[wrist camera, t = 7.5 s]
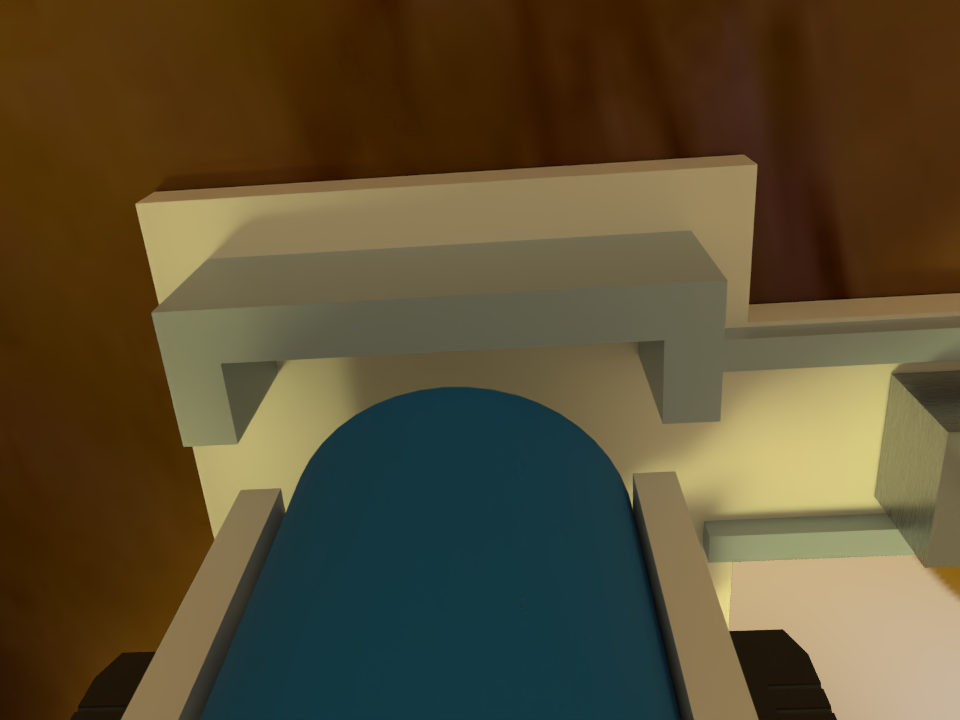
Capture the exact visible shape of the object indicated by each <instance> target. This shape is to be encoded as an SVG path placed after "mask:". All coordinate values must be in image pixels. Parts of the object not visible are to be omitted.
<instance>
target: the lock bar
mask: <svg viewBox="0 0 960 720" xmlns="http://www.w3.org/2000/svg"><path fill="white" fill-rule="evenodd" d="M874 497H875V498H876V499H877V501H878V502H879V504H880V505H881V506H882V508H883V509H884V511H885V512H886V514H887V515H888V516H889V518H890V519H891V521H892V522H893V523H894V525H895V526H896V528H897V529H898V531H899V532H900V533H901V535H902V536H903V538H904V539H905V540H906V542H907V543H908V545H909V546H910V547H911V549H912V550H913V552H914V553H915V555H916V556H917V557H918V559H919V560H920V562H921V563H922V564H923V566H924V567H925V568H927V567H953V566H960V370H959V371H939V372H919V373H899V374H891V381H890V388H889V395H888V402H887V410H886V417H885V424H884V431H883V438H882V445H881V453H880V460H879V467H878V474H877V481H876V489H875V496H874Z"/></svg>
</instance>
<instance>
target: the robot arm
mask: <svg viewBox="0 0 960 720" xmlns="http://www.w3.org/2000/svg"><path fill="white" fill-rule="evenodd" d="M285 513H286V512H285V507H284V502H283V496H282V491H281V488H274V489H250V490H240V492H239V494H238V496H237V498H236V500H235V501H234V503H233V505H232V507H231V509H230V511H229V513H228V515H227V517H226V519H225V521H224V523H223V525H222V526H221V528H220V530H219V532H218V534H217V536H216V538H215V540H214V542H213V544H212V546H211V548H210V549H209V551H208V553H207V555H206V557H205V559H204V561H203V563H202V565H201V567H200V569H199V571H198V573H197V574H196V576H195V578H194V580H193V582H192V584H191V586H190V588H189V590H188V592H187V594H186V596H185V597H184V599H183V601H182V603H181V605H180V607H179V609H178V611H177V613H176V615H175V617H174V619H173V621H172V622H171V624H170V626H169V628H168V630H167V632H166V634H165V636H164V638H163V640H162V642H161V644H160V645H159V647H158V649H157V651H156V652H135V653H122V654H121V655H120V656H119V657H117V658H116V659H115V660H114V661H113V662H112V663H111V664H110V665H109V666H108V667H107V668H105V669H104V670H103V671H102V672H101V673H100V674H99V675H98V676H97V677H96V678H95V679H94V681H93V682H92V684H91V686H90V687H89V689H88V691H87V692H86V694H85V696H84V698H83V699H82V701H81V703H80V704H79V706H78V712H75V713H74V715H73V716H72V718H71V720H199V719H200V717H201V715H202V712H203V710H204V707H205V705H206V703H207V700H208V698H209V695H210V693H211V691H212V688H213V686H214V683H215V681H216V679H217V676H218V674H219V671H220V669H221V667H222V664H223V662H224V659H225V657H226V655H227V652H228V650H229V647H230V645H231V642H232V640H233V638H234V635H235V633H236V630H237V628H238V626H239V623H240V621H241V618H242V616H243V614H244V611H245V609H246V606H247V604H248V602H249V599H250V597H251V594H252V592H253V590H254V587H255V585H256V582H257V580H258V578H259V575H260V573H261V570H262V568H263V566H264V563H265V561H266V558H267V556H268V554H269V551H270V549H271V546H272V544H273V541H274V539H275V537H276V534H277V532H278V529H279V527H280V525H281V522H282V520H283V517H284V515H285ZM633 513H634V517H635V521H636V526H637V530H638V534H639V539H640V543H641V547H642V552H643V556H644V560H645V564H646V569H647V573H648V577H649V582H650V586H651V590H652V595H653V599H654V603H655V608H656V612H657V616H658V621H659V625H660V629H661V634H662V638H663V642H664V646H665V651H666V655H667V659H668V664H669V668H670V672H671V677H672V681H673V685H674V690H675V694H676V698H677V703H678V707H679V711H680V716H681V720H837V719H836V717H835V715H834V713H832V711H831V706H830V703H829V701H828V698H827V696H826V694H825V692H824V690H823V689H822V688H821V683H820V680H819V678H818V676H817V673H816V672H815V669H814V667H813V665H812V662H811V660H810V658H809V655H808V654H807V653H806V652H805V651H804V650H803V649H802V648H801V647H800V646H799V645H798V644H797V643H796V642H795V641H794V640H793V639H792V638H791V637H790V636H789V635H788V634H787V633H786V632H785V631H784V630H754V631H729V630H728V627H727V624H726V621H725V618H724V615H723V612H722V609H721V606H720V603H719V600H718V597H717V594H716V591H715V588H714V585H713V582H712V579H711V576H710V573H709V570H708V567H707V564H706V561H705V558H704V555H703V552H702V549H701V546H700V543H699V540H698V537H697V534H696V531H695V528H694V525H693V522H692V519H691V516H690V513H689V510H688V507H687V504H686V501H685V498H684V495H683V492H682V489H681V486H680V484H679V481H678V478H677V475H676V472H675V471H672V472H649V473H633Z"/></svg>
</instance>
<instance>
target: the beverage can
mask: <svg viewBox="0 0 960 720" xmlns="http://www.w3.org/2000/svg"><path fill="white" fill-rule="evenodd" d="M199 720H681V716H680V711H679V707H678V703H677V698H676V694H675V690H674V685H673V681H672V677H671V672H670V668H669V664H668V659H667V655H666V651H665V646H664V642H663V638H662V634H661V629H660V625H659V621H658V616H657V612H656V608H655V603H654V599H653V595H652V590H651V586H650V582H649V577H648V573H647V569H646V564H645V560H644V556H643V552H642V547H641V543H640V539H639V534H638V530H637V526H636V521H635V517H634V513H633V508H632V504H631V501H630V497H629V493H628V491H627V489H626V487H625V484H624V482H623V480H622V477H621V475H620V474H619V472H618V471H617V469H616V467H615V466H614V464H613V463H612V461H611V459H610V458H609V457H608V456H607V454H606V453H605V452H604V451H603V450H602V448H601V447H600V446H599V445H598V444H597V443H596V441H595V440H594V439H592V438H591V437H590V436H589V435H588V434H587V433H586V432H585V431H583V430H582V429H581V428H580V427H579V426H578V425H576V424H575V423H573V422H572V421H570V420H569V419H567V418H566V417H565V416H563V415H562V414H560V413H558V412H556V411H554V410H552V409H551V408H549V407H547V406H545V405H543V404H541V403H539V402H536V401H533V400H530V399H528V398H525V397H522V396H519V395H517V394H513V393H508V392H504V391H500V390H495V389H490V388H481V387H471V386H443V387H435V388H427V389H420V390H416V391H412V392H408V393H404V394H400V395H396V396H394V397H391V398H389V399H386V400H384V401H381V402H378V403H376V404H374V405H372V406H370V407H368V408H367V409H365V410H363V411H361V412H359V413H358V414H356V415H354V416H353V417H352V418H350V419H349V420H348V421H346V422H345V423H344V424H342V425H341V426H340V427H338V428H337V429H336V430H335V431H334V432H333V433H332V434H331V435H330V436H329V437H328V438H327V439H326V440H325V441H324V442H323V443H322V444H321V445H320V447H319V448H318V449H317V451H316V452H315V453H314V455H313V456H312V457H311V459H310V460H309V462H308V464H307V466H306V467H305V469H304V471H303V473H302V475H301V477H300V479H299V481H298V484H297V486H296V489H295V491H294V493H293V496H292V498H291V501H290V503H289V505H288V508H287V510H286V513H285V515H284V517H283V520H282V522H281V525H280V527H279V529H278V532H277V534H276V537H275V539H274V541H273V544H272V546H271V549H270V551H269V554H268V556H267V558H266V561H265V563H264V566H263V568H262V570H261V573H260V575H259V578H258V580H257V582H256V585H255V587H254V590H253V592H252V594H251V597H250V599H249V602H248V604H247V606H246V609H245V611H244V614H243V616H242V618H241V621H240V623H239V626H238V628H237V630H236V633H235V635H234V638H233V640H232V642H231V645H230V647H229V650H228V652H227V655H226V657H225V659H224V662H223V664H222V667H221V669H220V671H219V674H218V676H217V679H216V681H215V683H214V686H213V688H212V691H211V693H210V695H209V698H208V700H207V703H206V705H205V707H204V710H203V712H202V715H201V717H200V719H199Z"/></svg>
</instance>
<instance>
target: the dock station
mask: <svg viewBox="0 0 960 720" xmlns="http://www.w3.org/2000/svg"><path fill="white" fill-rule="evenodd" d="M756 181H757V164H756V163H755V162H753V161H752V160H751V159H749V158H748V157H747V156H745V155H744V154H743V155H728V156H712V157H696V158H681V159H665V160H649V161H633V162H618V163H602V164H586V165H571V166H555V167H539V168H523V169H508V170H492V171H476V172H461V173H445V174H429V175H413V176H398V177H382V178H366V179H351V180H335V181H319V182H303V183H288V184H272V185H256V186H240V187H225V188H209V189H193V190H178V191H162V192H153V193H152V194H150V195H149V196H147V197H145V198H144V199H142V200H140V201H139V202H137V203H136V204H135V205H136V210H137V214H138V218H139V222H140V227H141V231H142V235H143V239H144V244H145V248H146V252H147V256H148V261H149V265H150V269H151V273H152V278H153V282H154V286H155V290H156V295H157V299H158V303H159V306H158V307H157V308H156V309H154V310H153V311H152V312H151V314H152V319H153V323H154V327H155V331H156V335H157V339H158V344H159V348H160V352H161V356H162V360H163V364H164V368H165V373H166V377H167V381H168V385H169V389H170V393H171V398H172V402H173V406H174V410H175V414H176V418H177V422H178V427H179V431H180V435H181V439H182V443H183V447H191V446H192V447H193V451H194V456H195V460H196V464H197V468H198V473H199V477H200V481H201V485H202V490H203V494H204V498H205V502H206V507H207V511H208V515H209V519H210V524H211V528H212V532H213V536H214V540H215V538H216V536H217V534H218V532H219V530H220V528H221V526H222V525H223V523H224V521H225V519H226V517H227V515H228V513H229V511H230V509H231V507H232V505H233V503H234V501H235V500H236V498H237V496H238V494H239V492H240V490H250V489H274V488H281V491H282V496H283V502H284V507H285V512H286V510H287V508H288V505H289V503H290V501H291V498H292V496H293V493H294V491H295V489H296V486H297V484H298V481H299V479H300V477H301V475H302V473H303V471H304V469H305V467H306V466H307V464H308V462H309V460H310V459H311V457H312V456H313V455H314V453H315V452H316V451H317V449H318V448H319V447H320V445H321V444H322V443H323V442H324V441H325V440H326V439H327V438H328V437H329V436H330V435H331V434H332V433H333V432H334V431H335V430H336V429H337V428H338V427H340V426H341V425H342V424H344V423H345V422H346V421H348V420H349V419H350V418H352V417H353V416H354V415H356V414H358V413H359V412H361V411H363V410H365V409H367V408H368V407H370V406H372V405H374V404H376V403H378V402H381V401H384V400H386V399H389V398H391V397H394V396H396V395H400V394H404V393H408V392H412V391H416V390H420V389H427V388H435V387H443V386H471V387H481V388H490V389H495V390H500V391H504V392H508V393H513V394H517V395H519V396H522V397H525V398H528V399H530V400H533V401H536V402H539V403H541V404H543V405H545V406H547V407H549V408H551V409H552V410H554V411H556V412H558V413H560V414H562V415H563V416H565V417H566V418H567V419H569V420H570V421H572V422H573V423H575V424H576V425H578V426H579V427H580V428H581V429H582V430H583V431H585V432H586V433H587V434H588V435H589V436H590V437H591V438H592V439H594V440H595V441H596V443H597V444H598V445H599V446H600V447H601V448H602V450H603V451H604V452H605V453H606V454H607V456H608V457H609V458H610V459H611V461H612V463H613V464H614V466H615V467H616V469H617V471H618V472H619V474H620V475H621V477H622V480H623V482H624V484H625V487H626V489H627V491H628V493H629V497H630V501H631V504H632V508H633V473H649V472H672V471H675V472H676V475H677V478H678V481H679V484H680V486H681V489H682V492H683V495H684V498H685V501H686V504H687V507H688V510H689V513H690V516H691V519H692V522H693V525H694V528H695V531H696V534H697V537H698V540H699V543H700V546H701V549H702V552H703V555H704V558H705V561H706V564H707V567H708V570H709V573H710V576H711V579H712V582H713V585H714V588H715V591H716V594H717V597H718V600H719V603H720V606H721V609H722V612H723V615H724V618H725V621H726V624H727V627H728V630H729V613H730V598H731V581H732V566H733V562H741V561H765V560H790V559H815V558H817V559H818V558H840V557H841V558H843V557H869V556H895V555H915V553H914V552H913V550H912V549H911V547H910V546H909V545H908V543H907V542H906V540H905V539H904V538H903V536H902V535H901V533H900V532H899V531H898V529H897V528H896V526H895V525H894V523H893V522H892V521H891V519H890V518H889V516H888V515H887V514H886V512H885V511H884V509H883V508H882V506H881V505H880V504H879V502H878V501H877V499H876V498H875V497H874V496H875V489H876V481H877V474H878V467H879V460H880V453H881V445H882V438H883V431H884V424H885V417H886V410H887V402H888V395H889V388H890V381H891V374H899V373H919V372H939V371H959V370H960V293H952V294H933V295H915V296H897V297H878V298H860V299H842V300H823V301H805V302H787V303H768V304H750V305H749V293H750V277H751V261H752V245H753V229H754V213H755V197H756Z"/></svg>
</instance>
